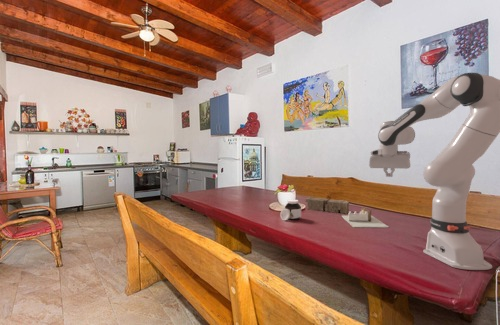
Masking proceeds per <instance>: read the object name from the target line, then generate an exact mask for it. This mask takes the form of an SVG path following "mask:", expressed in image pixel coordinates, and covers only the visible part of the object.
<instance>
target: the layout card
mask: <svg viewBox="0 0 500 325" xmlns="http://www.w3.org/2000/svg"><path fill="white" fill-rule="evenodd" d="M341 217H342V218H343V220H344V221H346V222H347V223H348V224H349V225H350V226H351V227H353V228H362V229H363V228H366V229H367V228H368V229H369V228H372V229H373V228H375V229H376V228H381V229H382V228H383V229H384V228H390V227H389V225H387V224H385V223H383V222H382V221H380V219H378V218H377V217H374V216H373V215H371V222H370V221H351V220H348V215H341Z"/></svg>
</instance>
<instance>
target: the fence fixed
mask: <svg viewBox="0 0 500 325" xmlns="http://www.w3.org/2000/svg"><path fill="white" fill-rule="evenodd" d="M361 212H362V213H363V214H365V212H368V221H370V222H371V216H372V210H369V209H367V208H365V207H363V206H362V207H361Z"/></svg>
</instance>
